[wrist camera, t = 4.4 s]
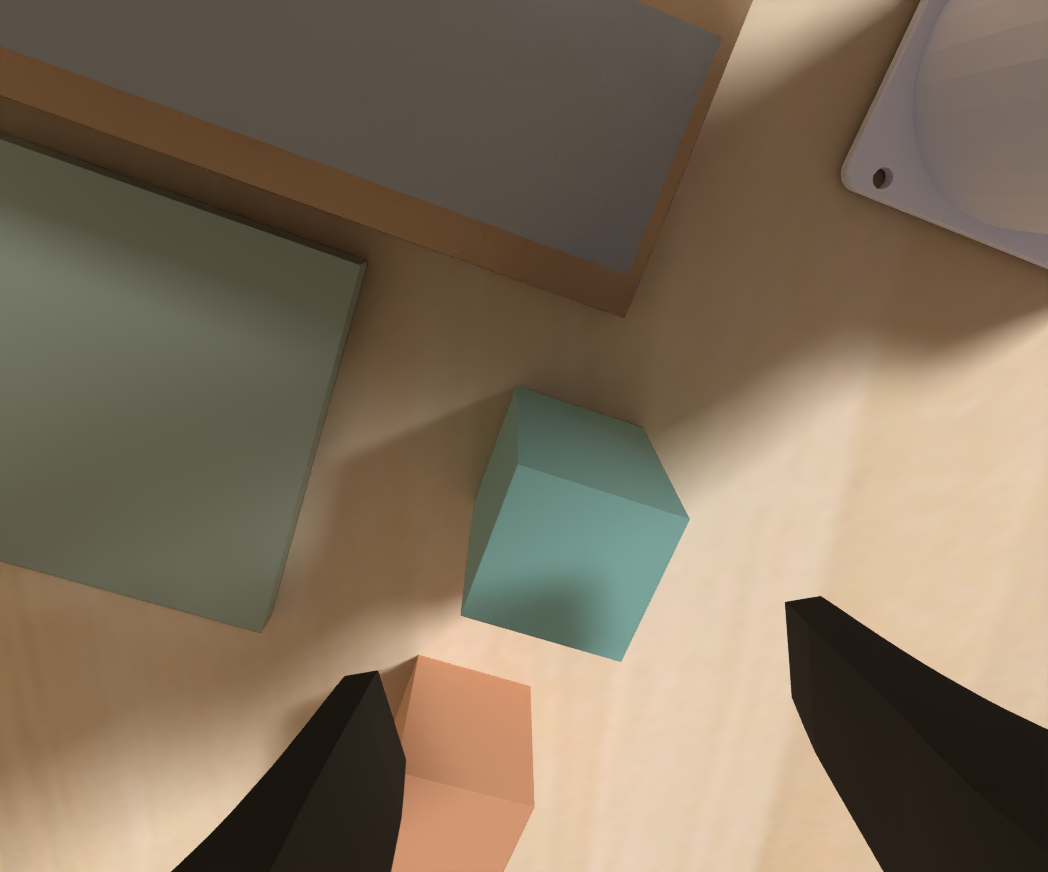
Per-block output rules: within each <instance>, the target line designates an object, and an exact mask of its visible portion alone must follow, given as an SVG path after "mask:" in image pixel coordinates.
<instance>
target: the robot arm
mask: <svg viewBox="0 0 1048 872" xmlns="http://www.w3.org/2000/svg"><path fill="white" fill-rule="evenodd" d="M878 169H883V170H884V171H885V174H886V179H885V182H884V183H883V185H882V186H881V187H879V188H876V187H875V186H874V184H873V176H874V174H875V173H876V171H877V170H878ZM841 181H842V183H843V184H844V186H845V187H846V188H847V189H849V190H850V191H853V192H855V193H858V194H860V195H863V196H865V197H868V198H870V199H873V200H875V201H878V202H880V203H883V204H885V205H888V206H890V207H893V208H895V209H898V210H900V211H903V212H905V213H908V214H910V215H913V216H915V217H918V218H920V219H923V220H925V221H928V222H930V223H933V224H935V225H938V226H940V227H943V228H945V229H948V230H950V231H953V232H955V233H958V234H960V235H963V236H965V237H968V238H970V239H973V240H975V241H978V242H980V243H983V244H985V245H988V246H990V247H993V248H995V249H998V250H1000V251H1003V252H1005V253H1008V254H1010V255H1013V256H1015V257H1018V258H1020V259H1023V260H1025V261H1028V262H1030V263H1033V264H1035V265H1038V266H1040V267H1043V268H1045V269H1048V0H921V1H920V3H919V5H918V7H917V9H916V11H915V13H914V16H913V18H912V20H911V22H910V24H909V26H908V28H907V30H906V32H905V34H904V37H903V39H902V41H901V43H900V45H899V47H898V49H897V51H896V53H895V56H894V58H893V60H892V62H891V64H890V66H889V68H888V70H887V72H886V75H885V77H884V79H883V81H882V83H881V85H880V87H879V89H878V91H877V94H876V96H875V98H874V100H873V102H872V104H871V106H870V108H869V110H868V112H867V115H866V117H865V119H864V121H863V123H862V125H861V127H860V129H859V131H858V134H857V136H856V138H855V140H854V142H853V144H852V146H851V148H850V150H849V153H848V155H847V157H846V159H845V161H844V163H843V166H842V169H841ZM785 610H786V624H787V637H788V651H789V665H790V679H791V693H792V699H793V701H794V704H795V706H796V709H797V711H798V713H799V716H800V718H801V721H802V723H803V725H804V728H805V730H806V732H807V735H808V737H809V739H810V742H811V744H812V746H813V748H814V751H815V753H816V755H817V756H818V758H819V760H820V762H821V764H822V765H823V767H824V769H825V771H826V772H827V774H828V776H829V778H830V779H831V781H832V783H833V785H834V787H835V788H836V790H837V792H838V794H839V795H840V797H841V799H842V801H843V802H844V804H845V806H846V807H847V809H848V811H849V813H850V814H851V816H852V818H853V820H854V821H855V823H856V825H857V826H858V828H859V830H860V832H861V833H862V835H863V837H864V839H865V840H866V842H867V844H868V846H869V847H870V849H871V851H872V852H873V854H874V856H875V858H876V859H877V861H878V863H879V865H880V866H881V868H882V870H883V872H1048V730H1047V729H1045V728H1043V727H1041V726H1039V725H1037V724H1035V723H1033V722H1031V721H1029V720H1027V719H1024V718H1022V717H1020V716H1018V715H1016V714H1014V713H1012V712H1010V711H1008V710H1006V709H1004V708H1002V707H1000V706H998V705H996V704H994V703H992V702H990V701H988V700H987V699H985V698H983V697H981V696H979V695H977V694H976V693H974V692H972V691H970V690H968V689H967V688H965V687H963V686H961V685H960V684H958V683H956V682H954V681H952V680H951V679H949V678H947V677H945V676H944V675H942V674H940V673H939V672H937V671H935V670H933V669H932V668H930V667H928V666H927V665H925V664H923V663H922V662H920V661H919V660H917V659H915V658H914V657H912V656H911V655H909V654H907V653H906V652H904V651H903V650H901V649H899V648H898V647H896V646H895V645H893V644H892V643H890V642H889V641H887V640H886V639H884V638H882V637H881V636H879V635H878V634H876V633H875V632H873V631H872V630H870V629H869V628H867V627H866V626H864V625H863V624H862V623H860V622H859V621H857V620H856V619H854V618H853V617H851V616H850V615H848V614H847V613H845V612H844V611H842V610H841V609H839V608H838V607H836V606H835V605H833V604H832V603H830V602H829V601H827V600H826V599H824V598H823V597H821V596H818V597H812V598H806V599H800V600H794V601H788V602H785ZM405 770H406V757H405V754H404V751H403V748H402V745H401V741H400V738H399V735H398V732H397V729H396V726H395V723H394V719H393V716H392V713H391V710H390V707H389V704H388V700H387V697H386V694H385V691H384V688H383V685H382V682H381V678H380V675H379V672H378V671H372V672H366V673H360V674H354V675H348V676H344V678H343V679H342V680H341V681H340V682H339V684H338V685H337V686H336V687H335V688H334V690H333V691H332V692H331V693H330V695H329V696H328V697H327V699H326V700H325V701H324V702H323V704H322V705H321V706H320V707H319V709H318V710H317V711H316V713H315V714H314V715H313V716H312V718H311V719H310V720H309V721H308V723H307V724H306V725H305V727H304V728H303V729H302V730H301V731H300V733H299V734H298V735H297V736H296V738H295V739H294V740H293V741H292V743H291V744H290V745H289V746H288V748H287V749H286V750H285V751H284V752H283V754H282V755H281V756H280V757H279V759H278V760H277V761H276V762H275V763H274V765H273V766H272V767H271V768H270V769H269V770H268V771H267V773H266V774H265V775H264V776H263V777H262V778H261V779H260V780H259V782H258V783H257V784H256V785H255V786H254V787H253V788H252V790H251V791H250V792H249V793H248V794H247V795H246V796H245V797H244V799H243V800H242V801H241V802H240V803H239V804H238V805H237V806H236V808H235V809H234V810H233V811H232V812H231V813H230V814H229V815H228V816H227V817H226V818H225V819H224V820H223V822H222V823H221V824H220V825H219V826H218V827H217V828H216V829H215V830H214V831H213V832H212V833H211V834H210V835H209V836H208V837H207V838H206V839H205V840H204V841H203V842H202V843H201V844H200V845H199V846H198V847H197V848H195V849H194V850H193V851H192V852H191V853H190V854H189V855H188V856H187V857H186V858H185V859H184V860H183V861H182V862H181V863H180V864H179V865H178V866H177V867H176V868H175V869H173V870H172V871H171V872H391V870H392V865H393V860H394V855H395V850H396V845H397V840H398V835H399V830H400V824H401V819H402V809H403V798H404V785H405Z"/></svg>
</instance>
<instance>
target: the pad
mask: <svg viewBox="0 0 1048 872" xmlns="http://www.w3.org/2000/svg"><path fill="white" fill-rule="evenodd" d="M367 262H368V261H367V260H364V259H361V258H358V257H356V256H353V255H350V254H347V253H344V252H341V251H338V250H336V249H333V248H330V247H327V246H324V245H321V244H318V243H316V242H313V241H310V240H307V239H304V238H301V237H299V236H296V235H293V234H290V233H287V232H284V231H281V230H279V229H276V228H273V227H270V226H267V225H264V224H261V223H259V222H256V221H253V220H250V219H247V218H244V217H242V216H239V215H236V214H233V213H230V212H227V211H224V210H222V209H219V208H216V207H213V206H210V205H207V204H204V203H202V202H199V201H196V200H193V199H190V198H187V197H185V196H182V195H179V194H176V193H173V192H170V191H167V190H165V189H162V188H159V187H156V186H153V185H150V184H147V183H145V182H142V181H139V180H136V179H133V178H130V177H128V176H125V175H122V174H119V173H116V172H113V171H110V170H108V169H105V168H102V167H99V166H96V165H93V164H90V163H88V162H85V161H82V160H79V159H76V158H73V157H71V156H68V155H65V154H62V153H59V152H56V151H53V150H51V149H48V148H45V147H42V146H39V145H36V144H33V143H31V142H28V141H25V140H22V139H19V138H16V137H14V136H11V135H8V134H5V133H2V132H0V561H1V562H5V563H9V564H12V565H16V566H20V567H23V568H27V569H30V570H34V571H38V572H41V573H45V574H48V575H52V576H56V577H59V578H63V579H67V580H70V581H74V582H77V583H81V584H85V585H88V586H92V587H95V588H99V589H103V590H106V591H110V592H114V593H117V594H121V595H124V596H128V597H132V598H135V599H139V600H143V601H146V602H150V603H153V604H157V605H161V606H164V607H168V608H171V609H175V610H179V611H182V612H186V613H190V614H193V615H197V616H200V617H204V618H208V619H211V620H215V621H219V622H222V623H226V624H229V625H233V626H237V627H240V628H244V629H247V630H251V631H255V632H258V633H262V631H263V629H264V627H265V626H266V624H267V622H268V620H269V618H270V616H271V614H272V611H273V607H274V603H275V600H276V596H277V592H278V589H279V585H280V581H281V578H282V574H283V570H284V567H285V563H286V559H287V556H288V552H289V548H290V545H291V541H292V537H293V534H294V530H295V526H296V523H297V519H298V515H299V512H300V508H301V504H302V501H303V497H304V493H305V490H306V486H307V482H308V479H309V475H310V471H311V468H312V464H313V460H314V457H315V453H316V449H317V446H318V442H319V438H320V435H321V431H322V427H323V424H324V420H325V416H326V413H327V409H328V405H329V402H330V398H331V394H332V391H333V387H334V383H335V380H336V376H337V372H338V369H339V365H340V361H341V358H342V354H343V350H344V347H345V343H346V339H347V336H348V332H349V328H350V325H351V321H352V317H353V314H354V310H355V306H356V303H357V299H358V295H359V292H360V288H361V284H362V281H363V277H364V273H365V270H366V266H367Z"/></svg>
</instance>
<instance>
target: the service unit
mask: <svg viewBox="0 0 1048 872" xmlns="http://www.w3.org/2000/svg"><path fill="white" fill-rule="evenodd" d="M752 1H753V0H0V95H1V96H4V97H7V98H10V99H12V100H15V101H18V102H21V103H24V104H26V105H29V106H32V107H35V108H38V109H40V110H43V111H46V112H49V113H52V114H54V115H57V116H60V117H63V118H66V119H68V120H71V121H74V122H77V123H80V124H82V125H85V126H88V127H91V128H94V129H96V130H99V131H102V132H105V133H108V134H110V135H113V136H116V137H119V138H122V139H124V140H127V141H130V142H133V143H136V144H138V145H141V146H144V147H147V148H150V149H152V150H155V151H158V152H161V153H164V154H166V155H169V156H172V157H175V158H178V159H180V160H183V161H186V162H189V163H192V164H194V165H197V166H200V167H203V168H206V169H208V170H211V171H214V172H217V173H220V174H222V175H225V176H228V177H231V178H234V179H236V180H239V181H242V182H245V183H248V184H250V185H253V186H256V187H259V188H262V189H264V190H267V191H270V192H273V193H276V194H278V195H281V196H284V197H287V198H290V199H292V200H295V201H298V202H301V203H303V204H306V205H309V206H312V207H315V208H317V209H320V210H323V211H326V212H329V213H331V214H334V215H337V216H340V217H343V218H345V219H348V220H351V221H354V222H357V223H359V224H362V225H365V226H368V227H371V228H373V229H376V230H379V231H382V232H385V233H387V234H390V235H393V236H396V237H399V238H401V239H404V240H407V241H410V242H413V243H415V244H418V245H421V246H424V247H427V248H429V249H432V250H435V251H438V252H441V253H443V254H446V255H449V256H452V257H455V258H457V259H460V260H463V261H466V262H469V263H471V264H474V265H477V266H480V267H483V268H485V269H488V270H491V271H494V272H497V273H499V274H502V275H505V276H508V277H511V278H513V279H516V280H519V281H522V282H525V283H527V284H530V285H533V286H536V287H539V288H541V289H544V290H547V291H550V292H553V293H555V294H558V295H561V296H564V297H567V298H569V299H572V300H575V301H578V302H581V303H583V304H586V305H589V306H592V307H595V308H597V309H600V310H603V311H606V312H609V313H611V314H614V315H617V316H620V317H623V318H625V315H626V313H627V310H628V308H629V305H630V303H631V300H632V298H633V295H634V293H635V291H636V288H637V286H638V283H639V281H640V278H641V276H642V273H643V271H644V268H645V266H646V263H647V261H648V258H649V256H650V253H651V251H652V248H653V246H654V243H655V241H656V239H657V236H658V234H659V231H660V229H661V226H662V224H663V221H664V219H665V216H666V214H667V211H668V209H669V206H670V204H671V201H672V199H673V196H674V194H675V192H676V189H677V187H678V184H679V182H680V179H681V177H682V174H683V172H684V169H685V167H686V164H687V162H688V159H689V157H690V154H691V152H692V149H693V147H694V145H695V142H696V140H697V137H698V135H699V132H700V130H701V127H702V125H703V122H704V120H705V117H706V115H707V112H708V110H709V107H710V105H711V102H712V100H713V97H714V95H715V93H716V90H717V88H718V85H719V83H720V80H721V78H722V75H723V73H724V70H725V68H726V65H727V63H728V60H729V58H730V55H731V53H732V50H733V48H734V46H735V43H736V41H737V38H738V36H739V33H740V31H741V28H742V26H743V23H744V21H745V18H746V16H747V13H748V11H749V8H750V6H751V3H752Z"/></svg>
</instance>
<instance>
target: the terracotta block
mask: <svg viewBox="0 0 1048 872" xmlns="http://www.w3.org/2000/svg"><path fill="white" fill-rule="evenodd" d="M394 723H395V726H396V729H397V732H398V735H399V738H400V741H401V745H402V748H403V751H404V754H405V757H406V770H405V785H404V798H403V809H402V819H401V824H400V830H399V835H398V840H397V845H396V850H395V855H394V860H393V865H392V870H391V872H504V870H505V868H506V866H507V864H508V862H509V859H510V857H511V855H512V853H513V851H514V849H515V847H516V845H517V843H518V841H519V838H520V836H521V834H522V832H523V830H524V828H525V826H526V824H527V822H528V819H529V817H530V815H531V813H532V811H533V809H534V783H533V753H532V723H531V693H530V686H527V685H524V684H520V683H516V682H513V681H509V680H506V679H502V678H499V677H495V676H492V675H488V674H484V673H481V672H477V671H474V670H470V669H467V668H463V667H460V666H456V665H453V664H449V663H445V662H442V661H438V660H435V659H431V658H428V657H424V656H421V655H418V658H417V661H416V663H415V666H414V669H413V672H412V674H411V677H410V680H409V682H408V685H407V688H406V691H405V693H404V696H403V699H402V702H401V704H400V707H399V710H398V713H397V715H396V718H395V721H394Z"/></svg>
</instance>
